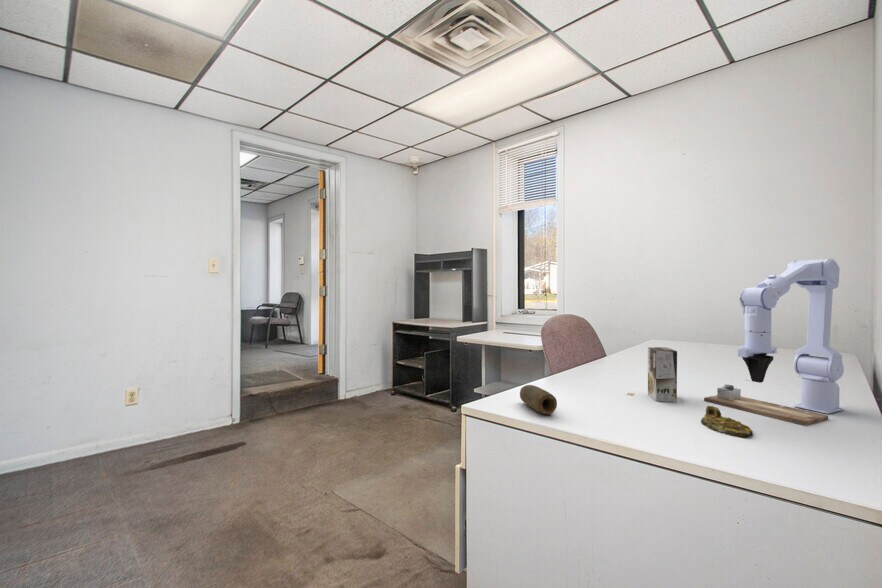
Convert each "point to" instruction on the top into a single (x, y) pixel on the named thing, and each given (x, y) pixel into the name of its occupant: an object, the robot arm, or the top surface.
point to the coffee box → (662, 374)
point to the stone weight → (538, 399)
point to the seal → (724, 423)
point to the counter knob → (729, 393)
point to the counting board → (770, 410)
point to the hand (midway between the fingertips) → (757, 381)
